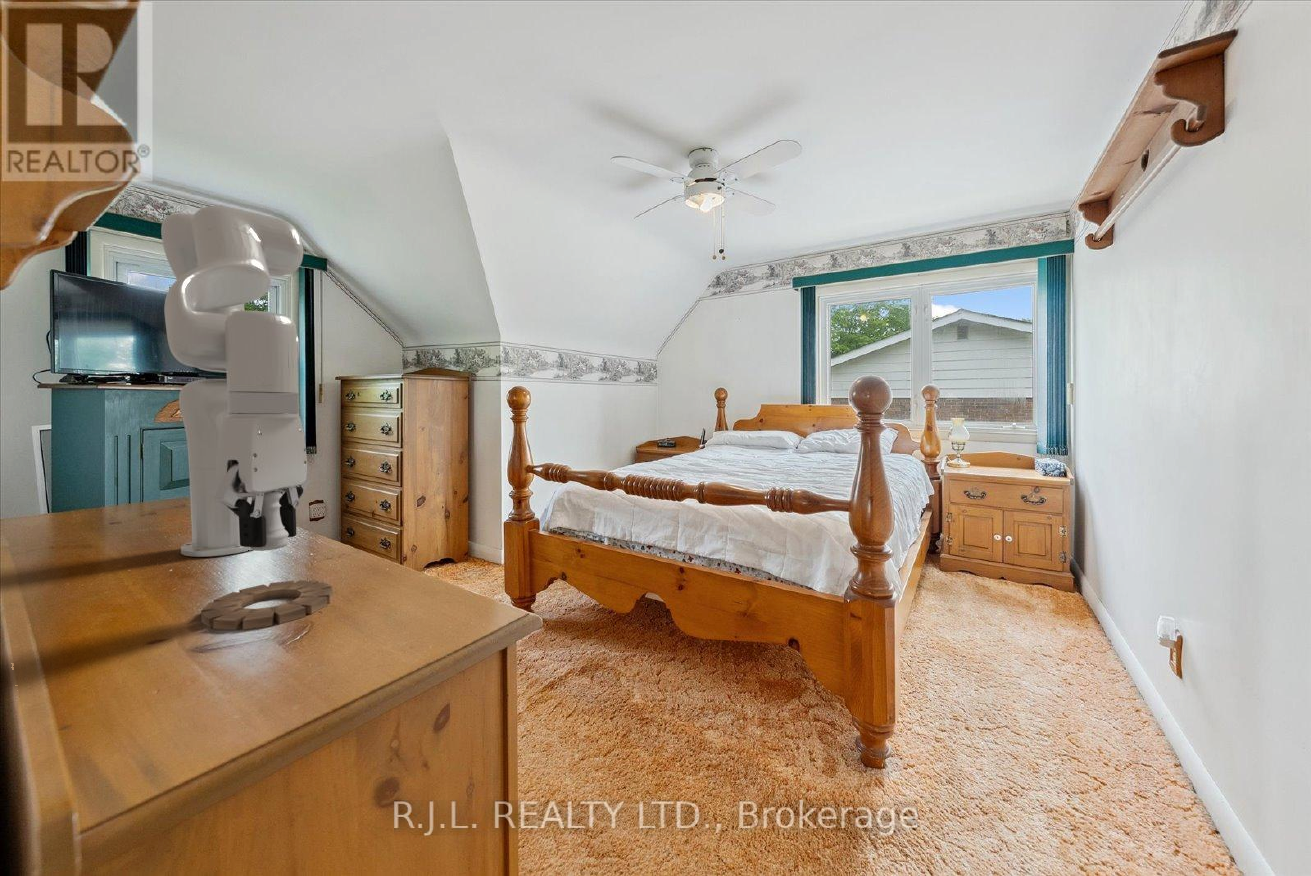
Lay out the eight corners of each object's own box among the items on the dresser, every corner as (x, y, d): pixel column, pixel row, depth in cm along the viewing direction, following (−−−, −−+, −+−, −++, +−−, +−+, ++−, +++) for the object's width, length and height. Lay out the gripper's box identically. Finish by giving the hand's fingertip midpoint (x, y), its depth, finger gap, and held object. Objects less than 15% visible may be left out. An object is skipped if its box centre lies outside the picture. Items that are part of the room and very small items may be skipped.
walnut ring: (266, 586, 77) (265, 578, 77) (353, 590, 76) (353, 582, 76) (172, 626, 63) (171, 617, 63) (277, 632, 62) (277, 623, 62)
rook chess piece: (267, 552, 66) (265, 492, 66) (239, 550, 67) (237, 490, 67) (298, 543, 71) (296, 486, 70) (271, 541, 72) (269, 485, 71)
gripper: (288, 406, 76) (291, 525, 78) (174, 406, 60) (181, 558, 61) (335, 406, 76) (338, 527, 77) (234, 407, 59) (240, 561, 60)
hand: (269, 539), depth 69 cm, fingers closed on rook chess piece, 4 cm apart
